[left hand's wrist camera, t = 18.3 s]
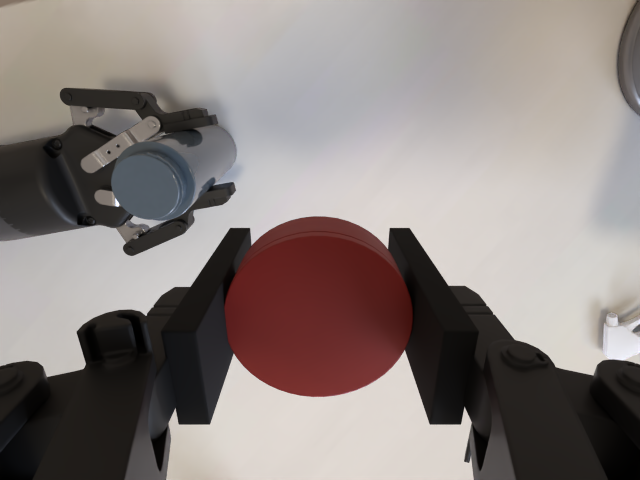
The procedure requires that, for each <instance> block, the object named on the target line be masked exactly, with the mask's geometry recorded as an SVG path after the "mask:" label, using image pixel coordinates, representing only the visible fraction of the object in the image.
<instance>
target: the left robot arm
mask: <svg viewBox="0 0 640 480" xmlns="http://www.w3.org/2000/svg"><path fill="white" fill-rule="evenodd" d="M618 73H619V80H620V85H621V88H622V91H623V94H624V96H625V98H626V100H627V102H628V103H629V105H630V106H631V107H632V109H633V110H634V111H635V112H636V113H637V114H639V115H640V0H639V1H638V2H637V4H636V6H635V7H634V9H633V11H632V13H631V15H630V17H629V20H628V22H627V25H626V27H625V30H624V34H623V37H622V41H621V45H620V51H619V60H618ZM250 247H251V235H250V228H230V229H229V231H228V232H227V234H226V235H225V237H224V238H223V240H222V241H221V243H220V244H219V246H218V247H217V249H216V250H215V252H214V253H213V255H212V256H211V257H210V259H209V260H208V262H207V263H206V265H205V266H204V268H203V269H202V271H201V272H200V274H199V275H198V277H197V278H196V280H195V281H194V283H193V284H192V286H191V287H174V288H173V289H171V290H170V291H168V292H166V293H165V294H163V295H162V296H161V297H160V298H159V300H158V301H157V302H156V303H155V305H154V308H151V310H150V311H149V312H148V313H147V316H145V315H144V314H143V313H141V312H140V311H135V310H117V311H113V312H108V313H105V314H102V315H100V316H97V317H95V318H93V319H91V320H90V321H88V322H87V323H85V324H83V325H82V326H81V328H80V329H79V330H78V331H77V335H78V338H79V342H80V345H81V348H82V352H83V355H84V358H85V362H86V366H85V368H84V369H82V370H79V371H74V372H70V373H65V374H60V375H55V376H50V377H47V376H46V374H45V371H44V368H43V366H42V365H40V364H39V363H38V362H32V361H23V362H15V363H10V364H6V365H5V366H4V365H3V366H0V480H166V477H167V468H168V460H169V451H170V443H171V436H170V429H169V424H168V423H169V421H170V418H171V416H172V414H173V412H174V410H175V408H176V412H177V417H178V422H179V424H210V423H211V420H212V417H213V414H214V411H215V408H216V405H217V402H218V399H219V396H220V393H221V390H222V387H223V384H224V381H225V378H226V375H227V372H228V369H229V366H230V363H231V360H232V357H233V354H234V352H233V351H232V349H231V347H230V345H229V342H228V336H227V327H226V319H225V310H224V303H225V298H226V295H227V292H228V289H229V287H230V285H231V282H232V280H233V278H234V276H235V274H236V272H237V270H238V268H239V266H240V264H241V261H242V260H243V258H244V256H245V254H246V253H247V251H248V250H249V249H250ZM388 250H389V252H390V253H391V255H392V257H393V258H394V260H395V262H396V264H397V266H398V269H399V271H400V273H401V275H402V277H403V280H404V282H405V284H406V286H407V289H408V291H409V294H410V297H411V301H412V307H413V325H412V331H411V335H410V338H409V341H408V343H407V346H406V348H405V351H406V354H407V357H408V360H409V363H410V366H411V369H412V372H413V375H414V378H415V381H416V384H417V387H418V390H419V393H420V396H421V399H422V402H423V405H424V408H425V411H426V414H427V417H428V420H429V423H430V424H461V421H462V416H463V411H464V406H465V408H466V411H467V413H468V415H469V417H470V419H471V421H472V424H471V429H470V434H469V439H468V443H467V448H466V453H465V460H464V462H468V463H469V461H470V457H471V459H472V467H473V476H474V480H640V365H639V364H635V363H633V362H629V361H623V360H615V359H611V360H603V361H602V362H600V363H599V364H598V365H597V367H596V370H595V373H594V376H593V375H588V374H583V373H578V372H573V371H569V370H564V369H560V368H556V367H555V365H554V363H553V362H552V361H551V359H550V358H549V357H548V355H546V354H545V353H543V352H542V351H541V350H539V349H538V348H536V347H534V346H532V345H529V344H527V343H524V342H520V341H516V340H514V338H513V337H512V336H511V335H510V333H509V332H508V331H507V330H506V328H505V327H504V326H503V325H502V323H501V322H500V321H499V320H498V318H497V317H496V316H495V315H493V312H492V311H491V310H490V308H489V307H488V306H486V303H485V302H484V301H483V300H482V298H481V297H480V296H479V295H478V294H477V293H475V292H474V291H472V290H471V289H469V288H467V287H466V286H448V285H447V283H446V282H445V280H444V279H443V277H442V276H441V274H440V273H439V271H438V270H437V268H436V267H435V265H434V264H433V262H432V261H431V259H430V258H429V256H428V255H427V253H426V252H425V250H424V249H423V247H422V246H421V245H420V243H419V242H418V240H417V239H416V237H415V236H414V234H413V233H412V231H411V230H410V228H390V232H389V245H388Z"/></svg>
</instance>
